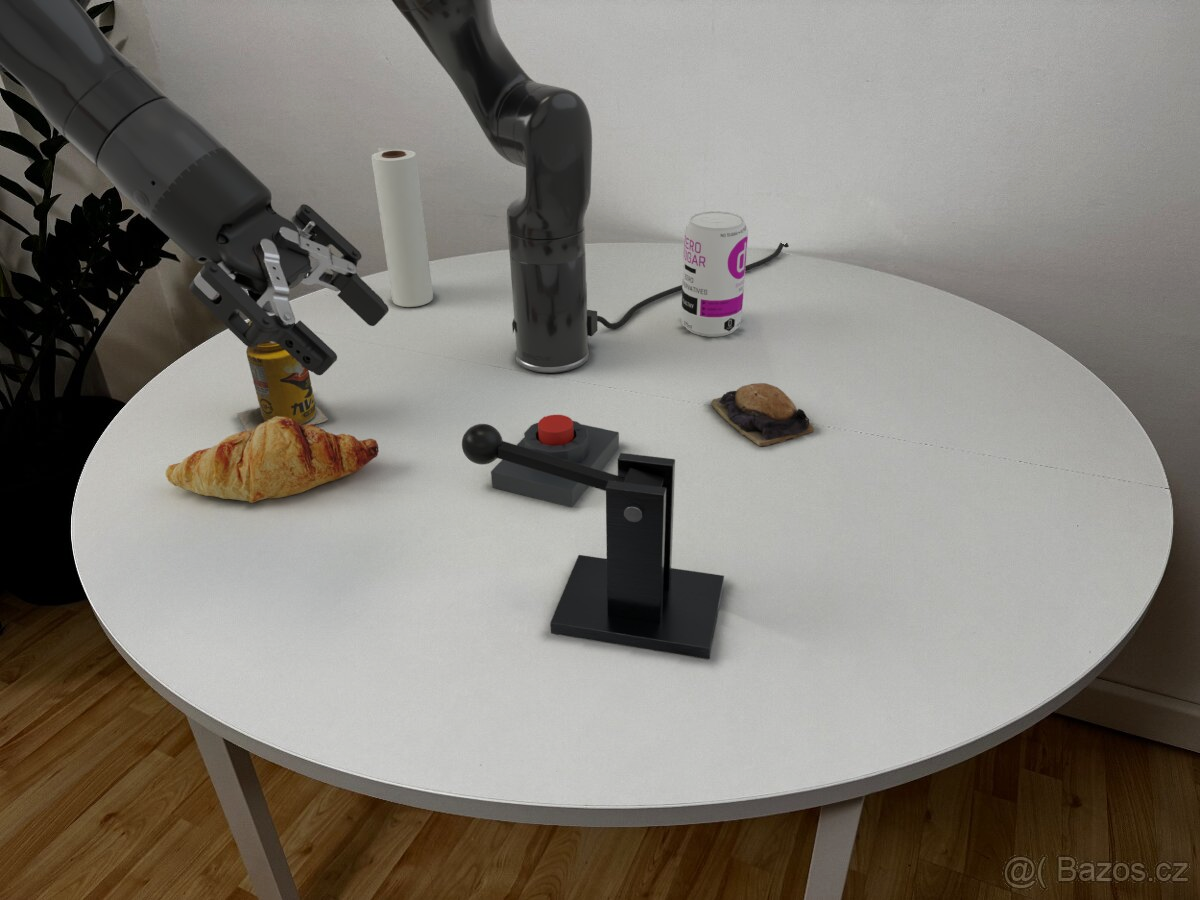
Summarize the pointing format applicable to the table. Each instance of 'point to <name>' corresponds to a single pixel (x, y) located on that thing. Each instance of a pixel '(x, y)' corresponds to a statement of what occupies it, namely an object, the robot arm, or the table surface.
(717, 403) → the brown rounded layered piece
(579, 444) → the control block
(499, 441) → the lever
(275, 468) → the croissant
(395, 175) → the paper towel roll
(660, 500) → the bracket
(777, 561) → the table surface
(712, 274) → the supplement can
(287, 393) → the condiment
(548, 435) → the button
